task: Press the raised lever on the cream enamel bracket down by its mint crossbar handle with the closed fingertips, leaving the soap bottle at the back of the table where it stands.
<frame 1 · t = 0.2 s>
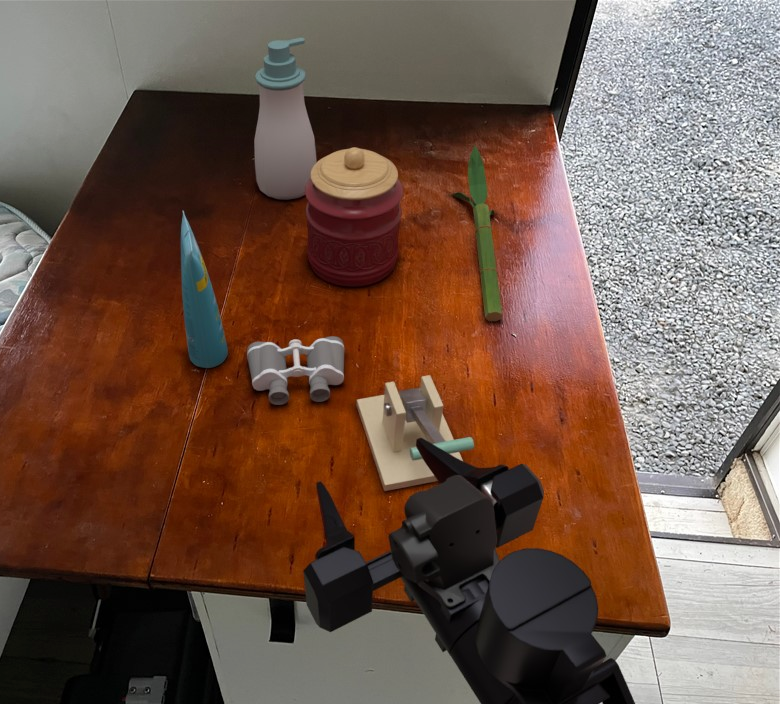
hand: (369, 462, 57), 17 cm above the table, tool horizontal, fingers open, 9 cm apart
toaster bracket: (408, 439, 79), on the table
soap bottle: (287, 186, 116), on the table
kitchen canister: (352, 260, 102), on the table
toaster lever: (425, 423, 71), point 8 cm above the table, hinge at 22.0°
tube: (210, 355, 90), on the table
binoculars: (297, 379, 86), on the table
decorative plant: (481, 254, 102), on the table
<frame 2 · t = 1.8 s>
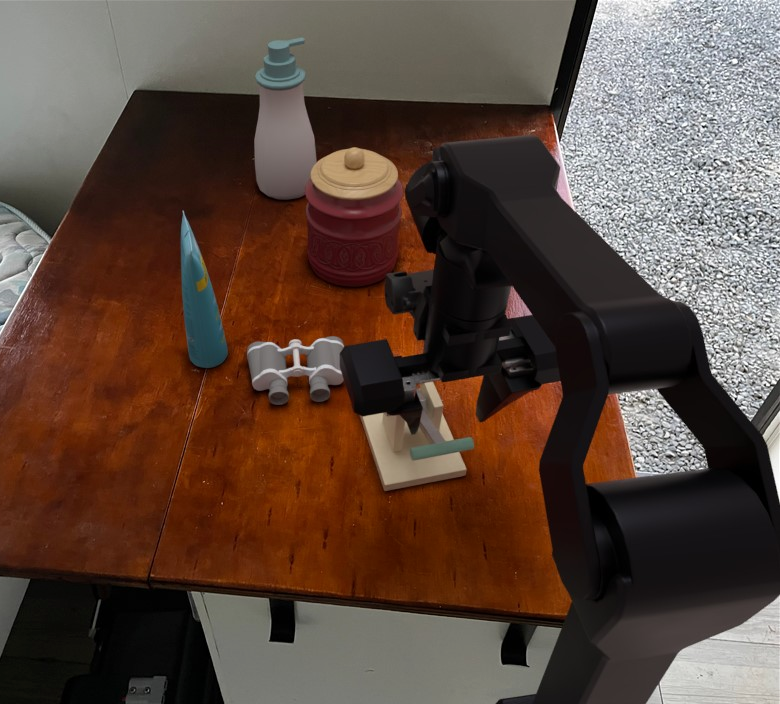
hand: (445, 424, 64), 13 cm above the table, tool pointing down, fingers open, 6 cm apart
nothing on the table moved.
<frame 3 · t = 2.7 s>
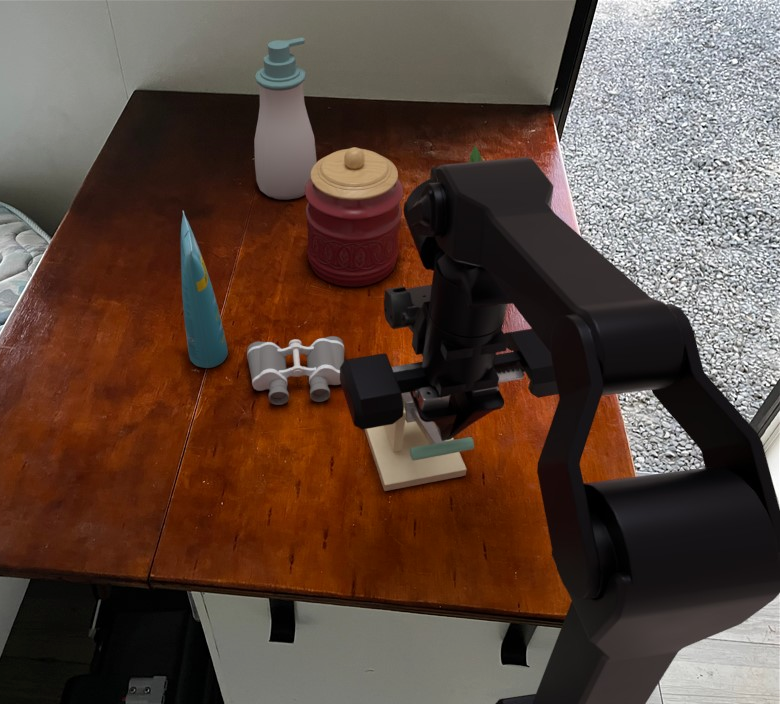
hand: (444, 436, 65), 11 cm above the table, tool pointing down, fingers closed
nothing on the table moved.
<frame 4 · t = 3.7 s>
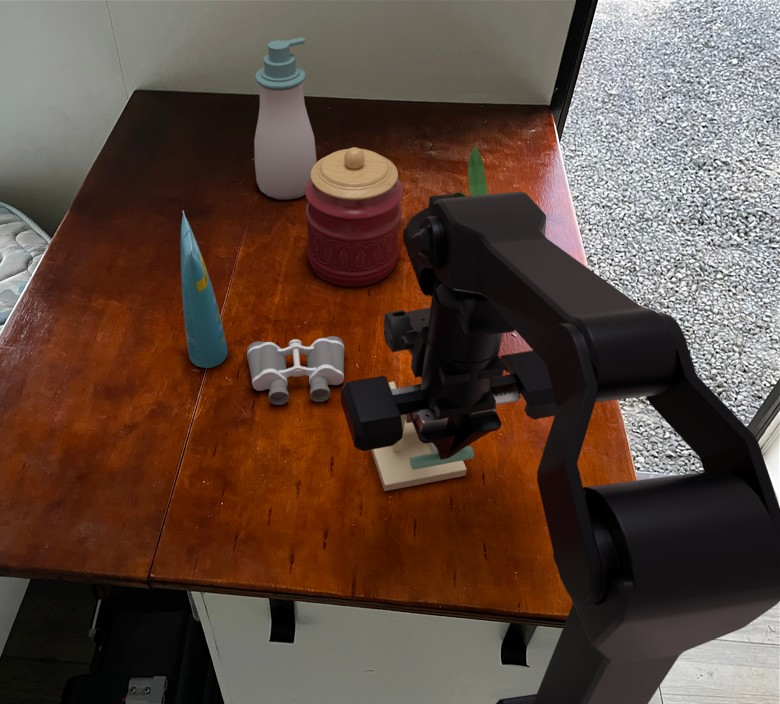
hand: (442, 455, 67), 9 cm above the table, tool pointing down, fingers closed, pressing on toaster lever
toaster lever: (425, 427, 72), point 7 cm above the table, hinge at 15.2°, touching gripper
everything else where it was.
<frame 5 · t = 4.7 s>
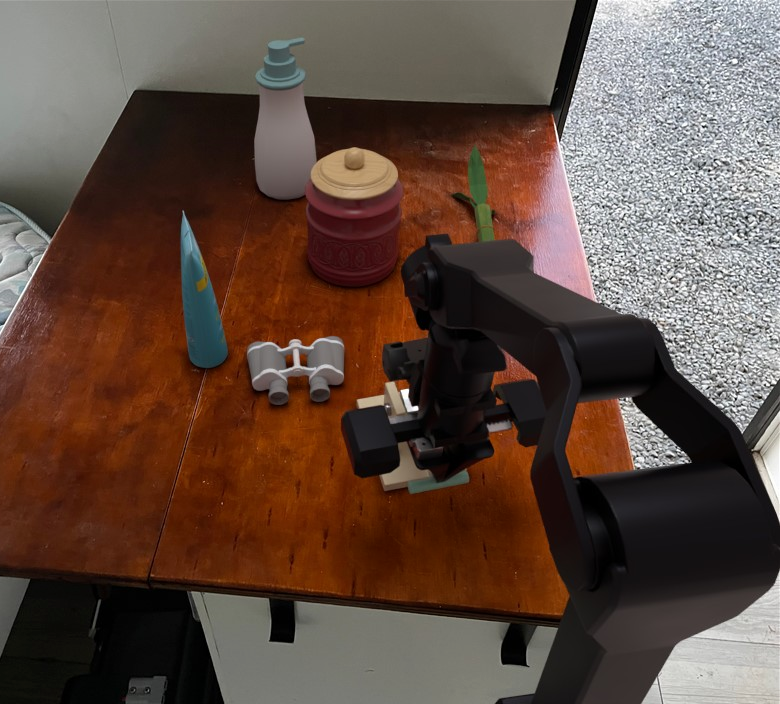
hand: (438, 478, 70), 5 cm above the table, tool pointing down, fingers closed, pressing on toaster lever
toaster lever: (423, 438, 73), point 5 cm above the table, hinge at -9.8°, touching gripper
everything else where it was.
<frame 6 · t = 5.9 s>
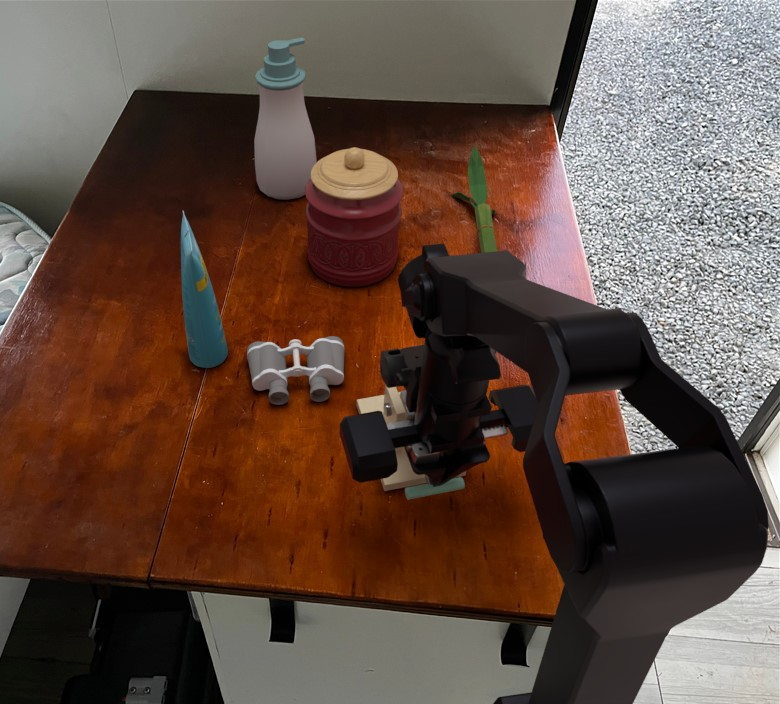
hand: (435, 482, 71), 4 cm above the table, tool pointing down, fingers closed
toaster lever: (422, 442, 74), point 4 cm above the table, hinge at -22.3°
everything else where it was.
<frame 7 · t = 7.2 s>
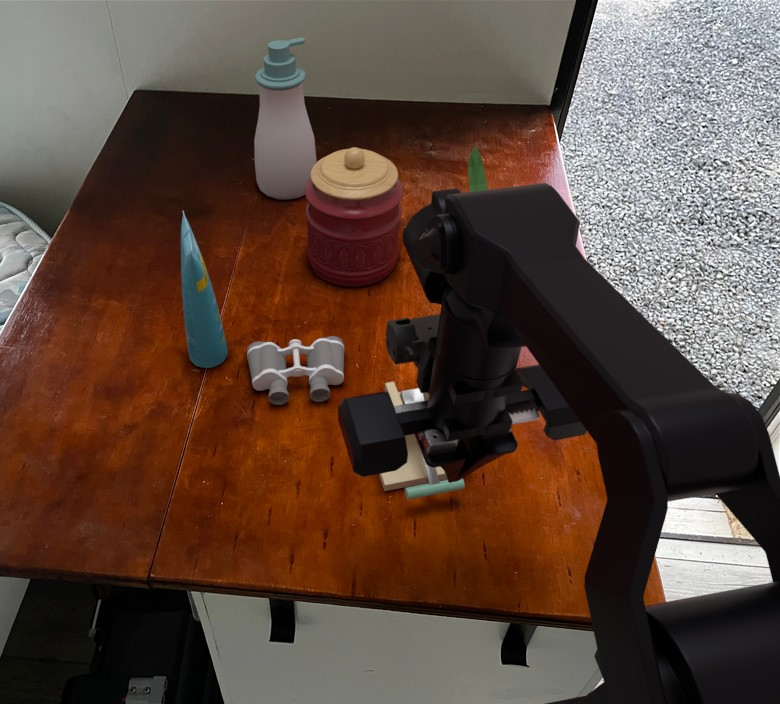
hand: (451, 477, 60), 13 cm above the table, tool pointing down, fingers closed
nothing on the table moved.
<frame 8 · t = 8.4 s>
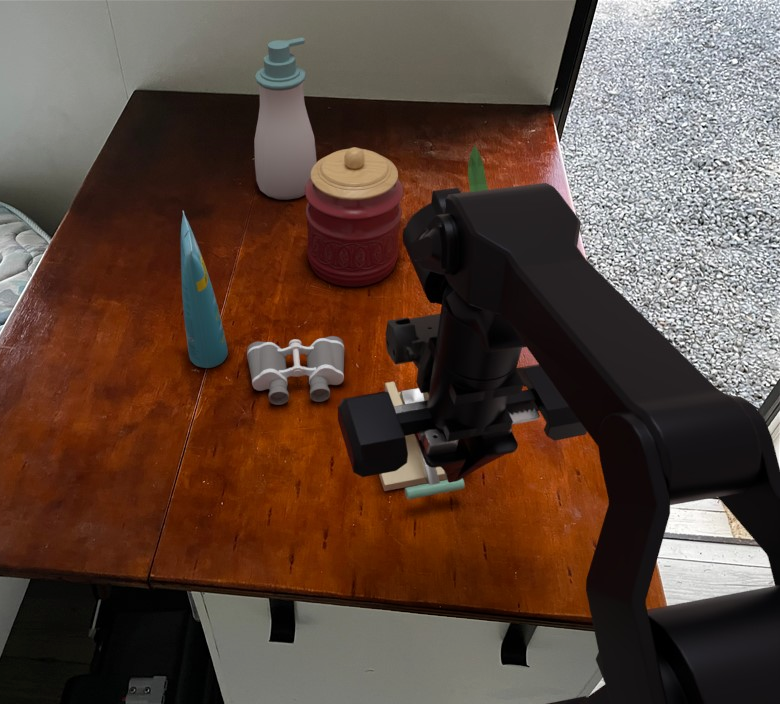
hand: (451, 477, 60), 13 cm above the table, tool pointing down, fingers closed
nothing on the table moved.
at the end: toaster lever at -22° (first picture: +22°); soap bottle moved 0.2 cm from its start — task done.
